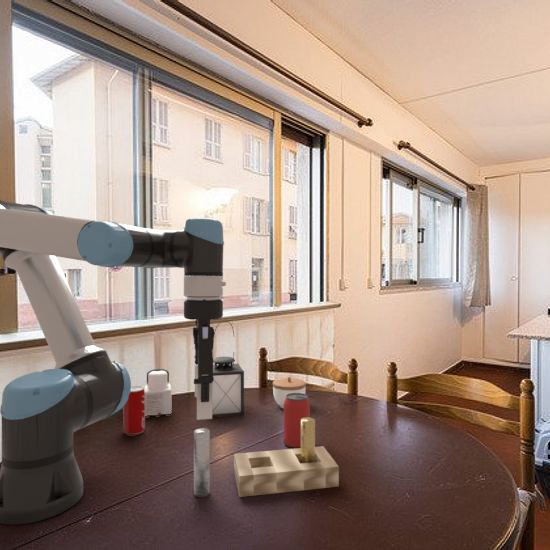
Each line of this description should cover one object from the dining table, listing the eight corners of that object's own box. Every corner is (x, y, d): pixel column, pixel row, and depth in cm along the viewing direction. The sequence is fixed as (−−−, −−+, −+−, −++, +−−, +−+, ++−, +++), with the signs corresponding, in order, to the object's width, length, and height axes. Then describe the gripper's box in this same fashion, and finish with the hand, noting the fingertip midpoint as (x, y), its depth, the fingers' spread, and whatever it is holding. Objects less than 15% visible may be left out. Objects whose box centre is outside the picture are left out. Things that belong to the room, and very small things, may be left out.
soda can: (145, 434, 110) (145, 389, 110) (123, 437, 108) (123, 391, 108) (144, 427, 115) (144, 383, 115) (123, 429, 113) (123, 385, 113)
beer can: (308, 450, 100) (308, 400, 100) (281, 447, 101) (281, 399, 101) (311, 439, 106) (311, 393, 106) (286, 437, 108) (286, 391, 108)
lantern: (238, 403, 136) (238, 318, 136) (244, 415, 125) (244, 322, 125) (204, 406, 133) (204, 319, 133) (207, 418, 122) (206, 323, 122)
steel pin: (193, 497, 79) (194, 434, 79) (193, 489, 82) (193, 428, 82) (209, 496, 79) (209, 433, 79) (209, 488, 82) (209, 427, 82)
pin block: (239, 497, 79) (239, 476, 79) (233, 472, 89) (234, 453, 89) (338, 486, 83) (338, 466, 83) (323, 464, 93) (323, 446, 93)
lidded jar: (311, 404, 135) (311, 375, 135) (295, 414, 126) (295, 383, 126) (283, 399, 141) (283, 371, 141) (266, 407, 132) (266, 378, 132)
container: (144, 409, 130) (144, 368, 130) (170, 407, 132) (170, 366, 132) (144, 418, 122) (144, 374, 122) (171, 415, 125) (171, 372, 125)
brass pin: (302, 481, 85) (302, 422, 85) (299, 474, 88) (299, 417, 88) (316, 479, 86) (316, 421, 86) (312, 472, 89) (312, 416, 89)
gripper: (229, 302, 70) (228, 428, 70) (217, 294, 94) (216, 388, 94) (184, 303, 68) (183, 432, 68) (183, 294, 92) (183, 389, 92)
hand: (202, 406), depth 81 cm, fingers open, 13 cm apart
